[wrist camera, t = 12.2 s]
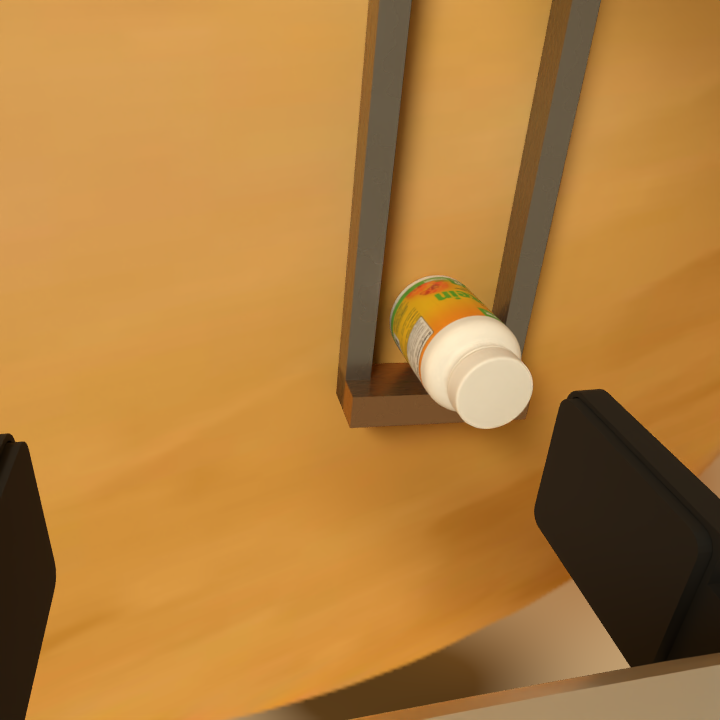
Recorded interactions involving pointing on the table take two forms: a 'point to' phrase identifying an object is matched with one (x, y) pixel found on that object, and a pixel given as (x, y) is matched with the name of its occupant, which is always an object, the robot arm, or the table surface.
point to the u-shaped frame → (372, 198)
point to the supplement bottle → (461, 352)
